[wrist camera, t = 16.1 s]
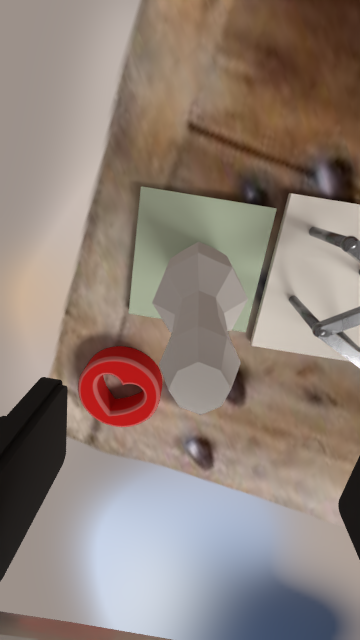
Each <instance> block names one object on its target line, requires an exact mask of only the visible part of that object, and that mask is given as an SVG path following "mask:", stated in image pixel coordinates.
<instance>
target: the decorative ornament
mask: <svg viewBox="0 0 360 640" xmlns="http://www.w3.org/2000/svg"><path fill="white" fill-rule="evenodd" d="M105 374H111V375H114V376H115V377H117V378H118V379H119V380H120V381H121V383H122V385H125V384H135V385H137V386H139V387H141V388H142V390H143V391H141V392H140V393H138V394H136V395H133V396H130V397H126V398H120V399H115V398H114V397H113V395H112V394H111V392H110V391H109V389H108V387H107V386H106V384H105V381H104V378H103V375H105ZM161 390H162V376H161V372H160V370H159V368H158V366H157V365H156V363H155V362H154V361H153V360H152V359H151V358H150V357H149V356H147V355H146V354H144V353H142V352H141V351H139V350H136V349H134V348H130V347H124V346H116V347H110V348H106V349H104V350H102V351H100V352H98V353H97V354H96V355H94V356H93V357H92V359H91V360H90V361H89V363H88V364H87V366H86V367H85V369H84V371H83V372H82V374H81V376H80V378H79V383H78V392H79V397H80V400H81V402H82V404H83V406H84V407H85V409H86V410H87V411H88V412H89V413H90V414H91V415H92V416H93V417H94V418H96V419H97V420H99V421H100V422H102V423H105V424H108V425H112V426H116V427H129V426H134V425H137V424H140V423H142V422H144V421H146V420H147V419H149V418H150V417H151V416H152V415H153V413H154V412H155V411H156V409H157V407H158V404H159V401H160V395H161Z"/></svg>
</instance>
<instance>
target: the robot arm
mask: <svg viewBox="0 0 360 640" xmlns="http://www.w3.org/2000/svg"><path fill="white" fill-rule="evenodd" d="M66 428H67V386H64V385H62V381H61V380H58V379H52V378H46V377H42V378H40V379H39V380H38V382H37V383H36V384H35V385H34V386H33V387H32V388H31V389H30V390H29V392H28V393H27V394H26V395H25V396H24V397H23V398H22V399H21V400H20V402H19V403H18V404H17V405H16V406H15V407H14V408H13V409H12V411H11V412H10V413H9V414H8V415H7V416H2V417H0V581H1V580H2V578H3V576H4V575H5V573H6V571H7V569H8V567H9V565H10V563H11V561H12V560H13V558H14V556H15V554H16V552H17V550H18V548H19V546H20V544H21V542H22V541H23V539H24V537H25V535H26V533H27V531H28V529H29V527H30V525H31V523H32V522H33V520H34V518H35V516H36V513H37V512H38V510H39V508H40V506H41V505H42V503H43V501H44V499H45V497H46V495H47V493H48V491H49V489H50V487H51V485H52V484H53V482H54V480H55V478H56V476H57V474H58V472H59V470H60V468H61V467H62V465H63V462H64V459H65V455H66ZM339 512H340V515H341V517H342V519H343V522H344V524H345V526H346V529H347V531H348V533H349V536H350V538H351V541H352V543H353V545H354V547H355V550H356V552H357V555H358V557H359V559H360V456H359V458H358V461H357V463H356V465H355V467H354V469H353V471H352V473H351V476H350V478H349V480H348V482H347V484H346V486H345V488H344V491H343V493H342V495H341V497H340V499H339ZM0 640H171V639H165V638H160V637H154V636H148V635H142V634H136V633H131V632H125V631H119V630H113V629H107V628H102V627H96V626H89V625H84V624H78V623H72V622H66V621H60V620H53V619H46V618H40V617H33V616H27V615H20V614H13V613H7V612H0Z"/></svg>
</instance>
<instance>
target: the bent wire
mask: <svg viewBox="0 0 360 640" xmlns="http://www.w3.org/2000/svg"><path fill="white" fill-rule="evenodd" d="M309 235H310V236H313V237H315V238H318V239H320V240H323V241H325V242H328V243H330V244H333V245H335V246H338V247H340V248H342V250H343V251H344V252H347V253H348V254H349V255H350V256H352V257H353V258H354V259H355V260H356V261H358V262H359V263H360V241H359V240H358V239H357V238H356V237H354V236H344V235H340V234H337V233H334V232H331V231H327V230H324V229H321V228H318V227H311V228H310V230H309ZM359 275H360V270H359ZM289 302H290V304H291V305H292V306H293V307H294V308H295V310H296V311H297V312H298V313H299V314H300V316H301V317H302V318H303V319H304V321H305V322H306V323H307V324H308V325H309V327H310V328H311V329H312V333H313V335H314V336H316V337H318V338H319V339H320V340H322V341H323V342H325V343H326V344H327V345H329V346H330V347H331V348H333V349H334V350H336V351H337V352H338V353H340V354H341V355H342V356H344V357H345V358H347V359H348V360H349V361H351V362H352V363H353V364H355V365H356V366H357V367H359V368H360V347H359V346H358V345H357V344H356V343H354V342H353V341H352V340H351V339H350V338H349V337H348V336H347V335H346V334H345V333H344V332H343V331H345V330H347V329H350V328H353V327H356V326H358V325H360V306H359V307H357V308H354V309H352V310H349V311H346V312H344V313H341V314H338V315H336V316H333V317H330V318H328V319H325V320H322V321H319V320H318V319H317V318H316V317H315V316H314V315H313V314H312V313H311V312H310V311H309V310H308V308H307V307H306V306H305V305H304V304H303V303H302V302H301V301H300V300H299V299H298V298H297V297H296V296H294V295H293V296H291V297H290V298H289Z"/></svg>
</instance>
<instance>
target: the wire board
mask: <svg viewBox="0 0 360 640" xmlns="http://www.w3.org/2000/svg"><path fill="white" fill-rule="evenodd" d="M311 227H318V228H321V229H324V230H327V231H331V232H334V233H337V234H340V235H344V236H354V237H356V238H357V239H358V240H359V241H360V205H359V204H353V203H347V202H341V201H335V200H329V199H323V198H317V197H310V196H304V195H298V194H292V193H289V195H288V198H287V202H286V206H285V210H284V214H283V218H282V221H281V225H280V229H279V233H278V237H277V241H276V244H275V248H274V252H273V256H272V260H271V264H270V268H269V271H268V275H267V279H266V283H265V287H264V291H263V294H262V298H261V302H260V306H259V310H258V314H257V317H256V321H255V325H254V329H253V333H252V337H251V340H250V343H251V346H256V347H262V348H268V349H275V350H281V351H287V352H293V353H300V354H306V355H312V356H318V357H325V358H331V359H337V360H344V361H349V360H348V359H347V358H345V357H344V356H342V355H341V354H340V353H338V352H337V351H336V350H334V349H333V348H331V347H330V346H329V345H327V344H326V343H325V342H323V341H322V340H320V339H319V338H318V337H316V336H314V335H313V333H312V329H311V328H310V327H309V325H308V324H307V323H306V322H305V321H304V319H303V318H302V317H301V316H300V314H299V313H298V312H297V311H296V310H295V308H294V307H293V306H292V305H291V304H290V302H289V298H290V297H291V296H293V295H294V296H296V297H297V298H298V299H299V300H300V301H301V302H302V303H303V304H304V305H305V306H306V307H307V308H308V310H309V311H310V312H311V313H312V314H313V315H314V316H315V317H316V318H317V319H318V320H319V321H322V320H325V319H328V318H330V317H333V316H336V315H338V314H341V313H344V312H346V311H349V310H352V309H354V308H357V307H359V306H360V275H359V270H360V263H359V262H358V261H356V260H355V259H354V258H353V257H352V256H350V255H349V254H348V253H347V252H344V251H343V250H342V248H340V247H338V246H335V245H333V244H330V243H328V242H325V241H323V240H320V239H318V238H315V237H313V236H310V235H309V230H310V228H311ZM343 332H344V333H345V334H346V335H347V336H348V337H349V338H350V339H351V340H352V341H353V342H354V343H356V344H357V345H358V346H359V347H360V325H358V326H356V327H353V328H350V329H347V330H345V331H343ZM350 362H351V361H350Z"/></svg>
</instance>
